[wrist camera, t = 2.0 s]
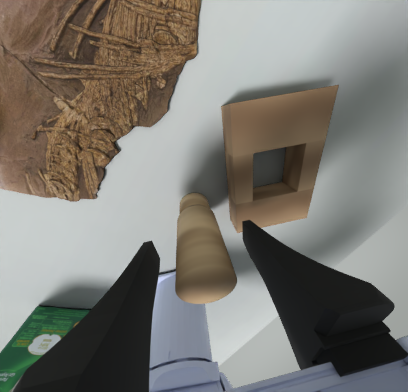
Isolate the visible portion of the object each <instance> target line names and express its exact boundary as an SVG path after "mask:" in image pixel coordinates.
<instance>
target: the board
mask: <svg viewBox="0 0 408 392" xmlns="http://www.w3.org/2000/svg"><path fill="white" fill-rule="evenodd" d="M338 86H339V85H335V86H329V87H323V88H317V89H312V90H306V91H300V92H294V93H289V94H283V95H277V96H271V97H266V98H260V99H254V100H248V101H242V102H237V103H231V104H228V105H224V106H221V110H222V122H223V134H224V147H225V159H226V171H227V184H228V196H229V208H230V219H231V221H232V223H233V225H234V227H235V229H236V231H237V233H240V232H243V229H242V221H246V220H251V221H252V222H253V223H255V224H256V225H257V226H259V227H260V228H262V227H267V226H271V225H276V224H280V223H285V222H289V221H294V220H298V219H303V218H307V214H308V210H309V206H310V202H311V198H312V193H313V189H314V185H315V181H316V177H317V173H318V169H319V164H320V160H321V156H322V152H323V148H324V144H325V140H326V136H327V131H328V127H329V123H330V119H331V115H332V111H333V107H334V102H335V98H336V94H337V90H338ZM283 147H286V153H285V161H284V169H283V178H282V182H280V183H275V184H270V185H265V186H260V187H255V188H253V153H257V152H263V151H268V150H273V149H278V148H283Z"/></svg>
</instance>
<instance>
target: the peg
mask: <svg viewBox="0 0 408 392" xmlns="http://www.w3.org/2000/svg"><path fill="white" fill-rule="evenodd" d="M236 283H237V277H236V274H235V271H234V268H233V266H232V263H231V260H230V257H229V254H228V252H227V249H226V246H225V243H224V240H223V237H222V235H221V232H220V229H219V226H218V223H217V221H216V218H215V215H214V213H213V211H212V210H211V209H210V206H209V203H208V201H207V199H206V197H205V196H204V195H202V194H199V193H190V194H187V195H186V196H184V197H183V198H182V200H181V202H180V215H179V217H178V221H177V250H176V281H175V292H176V294H177V296H178V297H179V298H180V299H181V300H183V301H185V302H188V303H193V304H204V303H210V302H214V301H217V300H219V299H222V298H223V297H225V296H227V295H228V294H229V293H230V292H231V291H232V290H233V289H234V288H235V286H236Z"/></svg>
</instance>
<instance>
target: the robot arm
mask: <svg viewBox="0 0 408 392" xmlns="http://www.w3.org/2000/svg"><path fill="white" fill-rule="evenodd" d="M242 229H243V242H244V244H245V246H246V249H247V251H248V253H249V255H250V257H251V259H252V260H253V262H254V264H255V266H256V268H257V269H258V271H259V273H260V275H261V277H262V278H263V280H264V282H265V284H266V287H267V289H268V291H269V293H270V296H271V298H272V300H273V302H274V305H275V307H276V309H277V312H278V314H279V317H280V319H281V321H282V324H283V326H284V329H285V331H286V334H287V336H288V339H289V341H290V344H291V346H292V349H293V352H294V354H295V357H296V359H297V362H298V364H299V367H300V369H301V370H300V371H296V372H292V373H289V374H285V375H281V376H278V377H274V378H270V379H267V380H263V381H259V382H256V383H252V384H248V385H245V386H241V387H238V388H234V389H233V387H232V385H231V384H230V382H229V381H228V379H227V378H226V376H225V375H224V374H223V373H222V372H219V369H218V362H212V355H211V347H210V339H209V332H208V324H207V316H206V309H205V303H204V304H193V303H188V302H185V301H183V300H181V299H180V298H179V297H178V296H177V294H176V292H175V281H176V271H175V272H170V273H166V274H162V275H159V268H160V257H159V255H158V253H157V251H156V249H155V247H154V244H153V242H152V241H149V242H144V243H143V245H142V246H141V247H140V249H139V250H138V252H137V253H136V255H135V256H134V258H133V259H132V261H131V262H130V263H129V265H128V266H127V268H126V269H125V270H124V272H123V273H122V274H121V276H120V277H119V278H118V280H117V281H116V282H115V283H114V285H113V286H112V287H111V288H110V289H109V291H108V292H107V293H106V294H105V295H104V296H103V297H102V299H101V300H100V301H99V302H98V303H97V304H96V305H95V306H94V307H93V308H92V309H91V310H90V311H89V312H88V313H87V314H86V316H85V317H84V318H83V319H82V320H81V321H80V322H79V323H78V324H76V325H75V326H74V327H73V328H72V329H71V330H70V331H69V332H68V333H67V334H66V335H65V336H64V337H63V338H62V339H61V340H60V341H58V342H57V343H56V344H55V345H54V346H53V347H52V348H51V349H49V350H48V351H47V352H46V353H45V354H44V355H43V356H41V357H40V358H39V359H38V360H37V361H36V362H35V363H33V364H32V365H31V366H30V367H29V368H27V369H26V371H25V372H24V374H23V375H22V377H21V379H20V380H19V382H18V384H17V385H16V387H15V388H14V390H13V392H408V336H404V337H402V338H399V339H397V340H395V339H394V338H393V337H392V336H391V335H390V334H389V332H390V329H389V328H388V327H387V326H386V325H385V324H384V323H383V322H382V321H383V320H384V319H385V318H386V317H387V316H388V315H389V314H390V313H391V312H392V311H393V310H394V303H393V302H392V301H391V300H390V299H388V298H387V297H386V296H385V295H384V294H383V293H381V292H380V291H379V290H378V289H377V288H376V287H375V286H373V285H372V284H371V283H368V282H365V281H363V280H360V279H358V278H355V277H352V276H349V275H347V274H344V273H341V272H339V271H337V270H334V269H332V268H329V267H327V266H325V265H323V264H320V263H318V262H316V261H314V260H312V259H310V258H308V257H306V256H304V255H302V254H300V253H298V252H296V251H295V250H293V249H291V248H289V247H288V246H286V245H284V244H283V243H281V242H280V241H278V240H277V239H275V238H274V237H272V236H271V235H269V234H268V233H267V232H265V231H264V230H263V229H261V228H260V227H259V226H257V225H256V224H255V223H253V222H252V221H251V220H246V221H242Z"/></svg>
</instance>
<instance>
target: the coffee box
mask: <svg viewBox="0 0 408 392" xmlns="http://www.w3.org/2000/svg"><path fill="white" fill-rule="evenodd" d="M89 311H90V310H85V309H84V310H76V309H65V308H57V307H41V306H37V307H36V308H35V310H34V311H33V312H32V313H31V315H30V316H29V317H28V318H27V320H26V321H25V322H24V323H23V325H22V326H21V327H20V329H19V330H18V331H17V333H16V334H15V335H14V336H13V338H12V339H11V340H10V341H9V343H8V344H7V345H6V346H5V348H4V349H3V350H2V351H1V353H0V392H13V390H14V388H15V387H16V385H17V384H18V382H19V380H20V379H21V377H22V375H23V374H24V372H25V371H26V369H27V368H29V367H30V366H31V365H32V364H33V363H35V362H36V361H37V360H38V359H39V358H40V357H41V356H43V355H44V354H45V353H46V352H47V351H48V350H49V349H51V348H52V347H53V346H54V345H55V344H56V343H57V342H58V341H60V340H61V339H62V338H63V337H64V336H65V335H66V334H67V333H68V332H69V331H70V330H71V329H72V328H73V327H74V326H75V325H76V324H78V323H79V322H80V321H81V320H82V319H83V318H84V317H85V316H86V314H87V313H88V312H89Z"/></svg>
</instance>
